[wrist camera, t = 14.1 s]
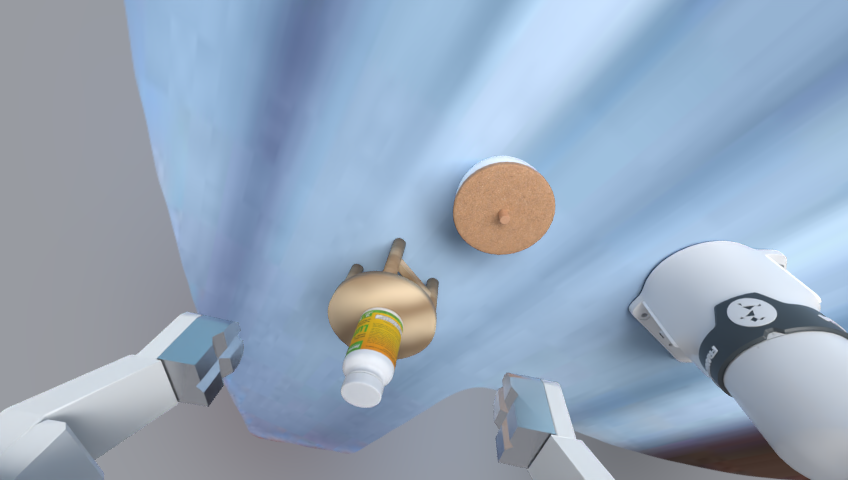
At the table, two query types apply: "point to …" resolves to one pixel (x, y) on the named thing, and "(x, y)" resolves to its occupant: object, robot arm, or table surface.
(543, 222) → the lidded jar
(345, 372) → the supplement bottle
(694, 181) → the table surface
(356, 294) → the stool
